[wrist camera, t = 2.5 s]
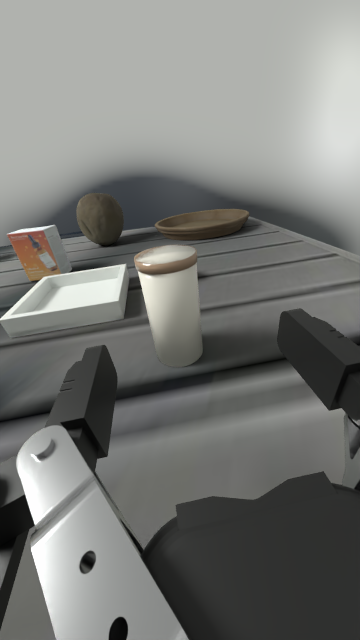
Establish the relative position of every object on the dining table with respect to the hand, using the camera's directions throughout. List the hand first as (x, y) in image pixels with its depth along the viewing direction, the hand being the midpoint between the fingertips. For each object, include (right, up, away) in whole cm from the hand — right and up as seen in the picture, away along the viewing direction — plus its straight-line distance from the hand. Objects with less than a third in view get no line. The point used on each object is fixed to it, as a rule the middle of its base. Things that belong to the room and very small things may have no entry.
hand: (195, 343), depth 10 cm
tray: (-18, +4, +28) cm, 34 cm away
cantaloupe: (-25, +26, +64) cm, 74 cm away
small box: (-31, +12, +43) cm, 54 cm away
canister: (-1, -2, +15) cm, 15 cm away
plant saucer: (+7, +32, +66) cm, 74 cm away
